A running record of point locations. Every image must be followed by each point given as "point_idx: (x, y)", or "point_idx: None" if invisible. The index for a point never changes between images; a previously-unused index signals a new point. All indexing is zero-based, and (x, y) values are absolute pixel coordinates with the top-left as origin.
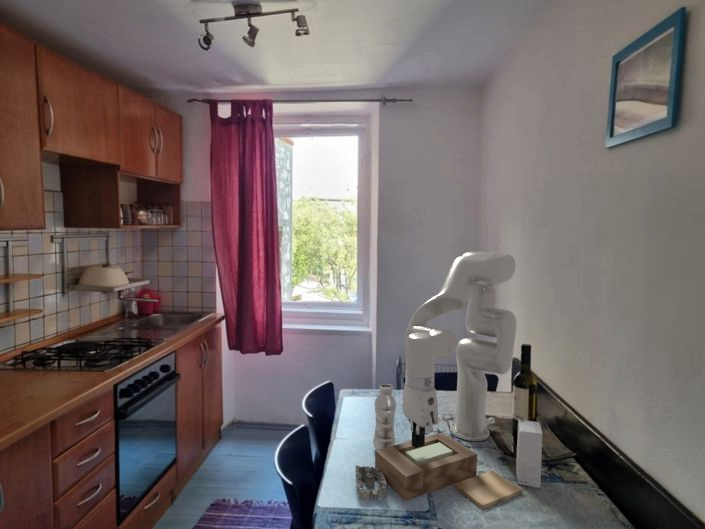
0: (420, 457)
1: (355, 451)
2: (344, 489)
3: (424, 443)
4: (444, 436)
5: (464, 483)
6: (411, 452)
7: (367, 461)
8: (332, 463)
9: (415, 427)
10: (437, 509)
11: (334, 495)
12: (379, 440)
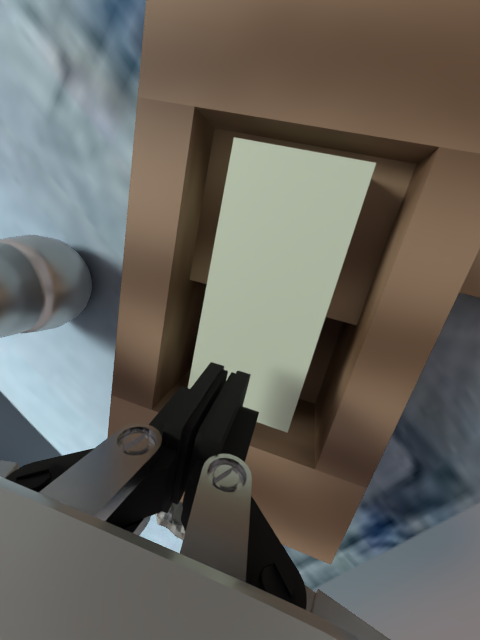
0: (271, 392)
1: (34, 357)
2: None
3: (248, 379)
4: (200, 16)
5: None
6: None
7: (96, 376)
8: (59, 450)
9: (139, 511)
10: (443, 446)
11: (176, 549)
12: (32, 331)
